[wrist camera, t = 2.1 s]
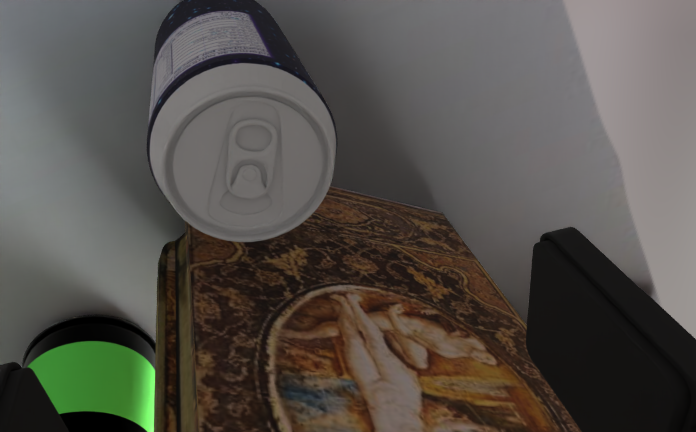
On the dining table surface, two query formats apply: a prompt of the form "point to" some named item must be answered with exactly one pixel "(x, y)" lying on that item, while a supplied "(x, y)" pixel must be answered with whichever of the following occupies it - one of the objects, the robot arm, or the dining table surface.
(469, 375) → the book
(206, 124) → the beverage can
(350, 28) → the dining table surface
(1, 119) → the dining table surface
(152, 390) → the bottle
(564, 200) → the dining table surface
